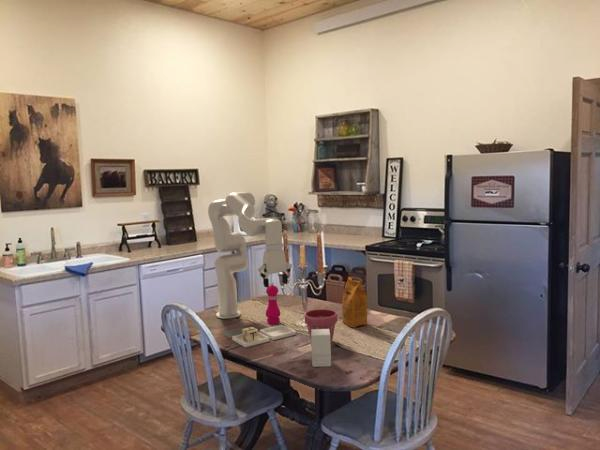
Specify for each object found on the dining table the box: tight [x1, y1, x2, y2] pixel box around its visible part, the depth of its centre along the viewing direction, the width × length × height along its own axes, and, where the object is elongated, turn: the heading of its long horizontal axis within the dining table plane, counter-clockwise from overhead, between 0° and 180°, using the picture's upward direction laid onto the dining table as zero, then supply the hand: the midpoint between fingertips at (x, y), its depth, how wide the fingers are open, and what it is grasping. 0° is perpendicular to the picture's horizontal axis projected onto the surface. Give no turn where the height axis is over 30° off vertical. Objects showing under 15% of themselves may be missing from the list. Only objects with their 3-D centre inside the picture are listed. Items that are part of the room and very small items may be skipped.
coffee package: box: [341, 276, 368, 328], centre depth 245 cm, size 10×12×22 cm
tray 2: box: [259, 324, 297, 341], centre depth 234 cm, size 12×12×2 cm
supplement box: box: [310, 329, 332, 368], centre depth 199 cm, size 7×7×13 cm
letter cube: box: [242, 326, 259, 343], centre depth 226 cm, size 5×5×5 cm
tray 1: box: [231, 331, 270, 348], centre depth 227 cm, size 12×12×2 cm
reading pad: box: [219, 326, 246, 339], centre depth 238 cm, size 10×12×1 cm
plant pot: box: [304, 308, 338, 344], centre depth 223 cm, size 14×14×13 cm
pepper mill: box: [265, 282, 281, 325], centre depth 252 cm, size 7×7×20 cm
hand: (275, 285), depth 231 cm, fingers open, 9 cm apart
